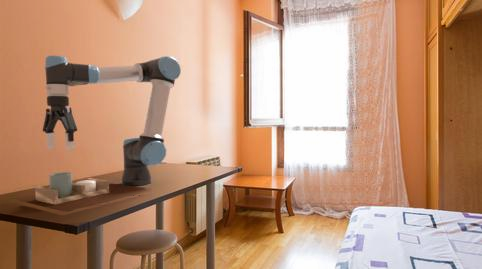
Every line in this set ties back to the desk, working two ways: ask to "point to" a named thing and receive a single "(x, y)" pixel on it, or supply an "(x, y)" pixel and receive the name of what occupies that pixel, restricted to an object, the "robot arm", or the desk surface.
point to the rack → (76, 193)
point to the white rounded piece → (88, 185)
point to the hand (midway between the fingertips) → (60, 149)
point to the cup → (61, 183)
